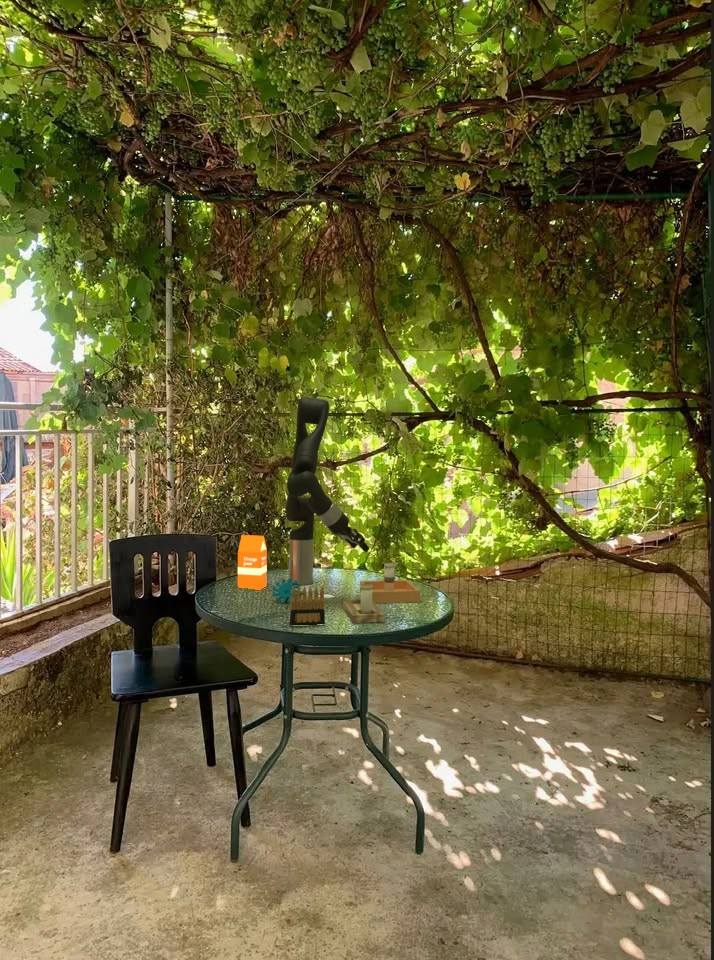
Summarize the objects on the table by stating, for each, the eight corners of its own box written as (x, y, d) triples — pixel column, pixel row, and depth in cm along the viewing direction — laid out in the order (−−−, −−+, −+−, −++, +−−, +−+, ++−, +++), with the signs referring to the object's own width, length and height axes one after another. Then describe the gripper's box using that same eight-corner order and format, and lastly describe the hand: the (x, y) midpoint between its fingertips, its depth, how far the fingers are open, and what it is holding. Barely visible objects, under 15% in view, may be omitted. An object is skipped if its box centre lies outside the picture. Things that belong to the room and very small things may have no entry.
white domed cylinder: (384, 595, 250) (385, 564, 249) (382, 593, 253) (383, 562, 253) (395, 595, 250) (396, 564, 249) (393, 592, 254) (393, 562, 253)
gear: (268, 598, 240) (276, 574, 246) (269, 607, 244) (278, 583, 250) (299, 604, 238) (307, 580, 244) (300, 613, 242) (308, 589, 249)
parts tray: (369, 603, 241) (369, 592, 241) (359, 591, 259) (360, 581, 259) (420, 602, 245) (420, 590, 244) (407, 590, 262) (407, 580, 262)
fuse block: (352, 623, 216) (352, 615, 216) (341, 606, 237) (342, 599, 237) (384, 622, 218) (384, 614, 218) (371, 605, 238) (371, 598, 238)
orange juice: (260, 591, 257) (260, 537, 256) (237, 590, 259) (237, 536, 258) (266, 586, 265) (267, 534, 264) (244, 585, 267) (244, 533, 265)
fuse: (361, 621, 219) (361, 586, 218) (358, 618, 222) (359, 583, 222) (373, 621, 219) (373, 586, 219) (370, 617, 223) (371, 583, 222)
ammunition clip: (289, 626, 212) (290, 587, 211) (289, 625, 214) (289, 586, 213) (325, 625, 214) (325, 586, 213) (324, 623, 215) (324, 585, 215)
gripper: (349, 511, 234) (378, 543, 240) (330, 507, 246) (358, 537, 253) (335, 528, 232) (364, 560, 238) (316, 522, 244) (345, 553, 251)
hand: (361, 548), depth 245 cm, fingers open, 8 cm apart
